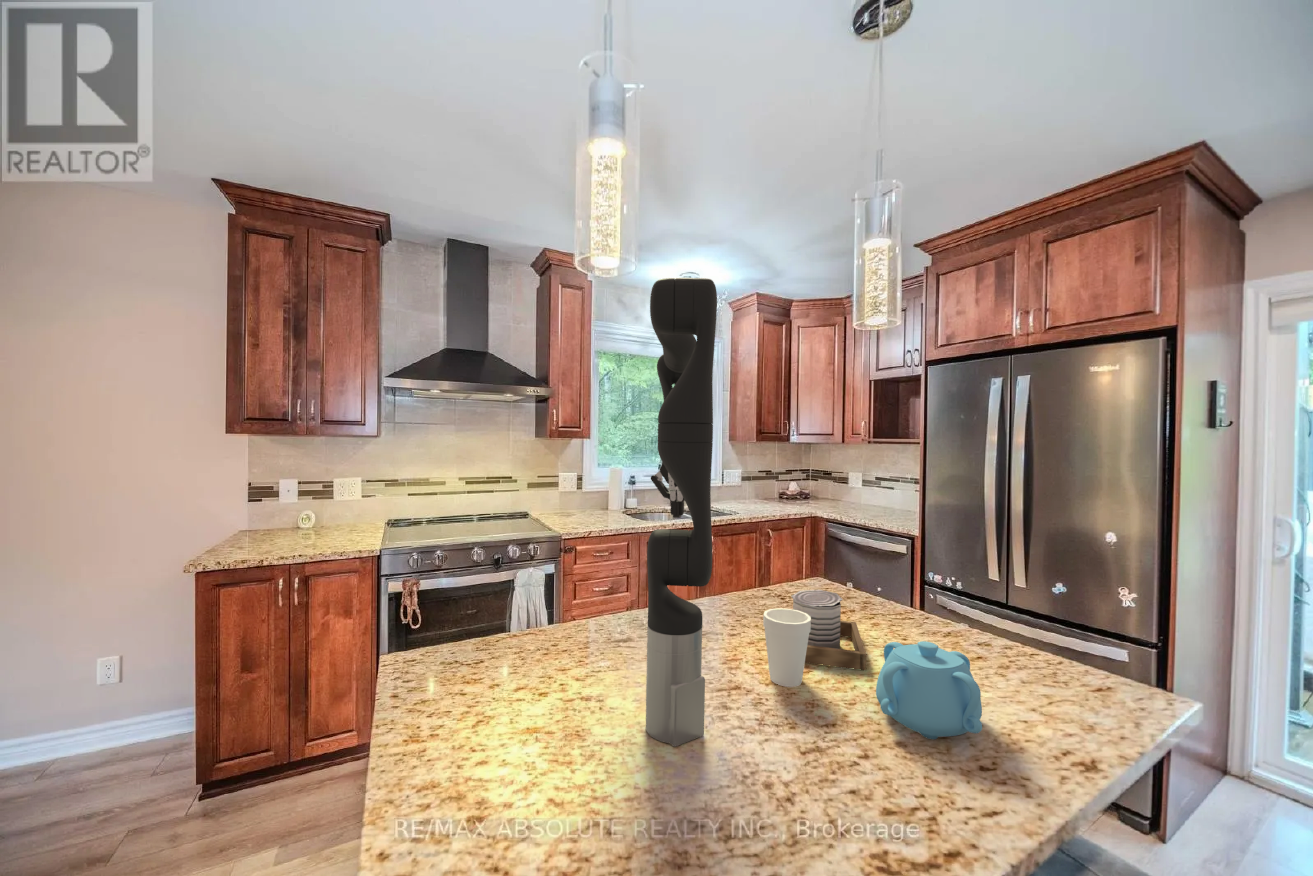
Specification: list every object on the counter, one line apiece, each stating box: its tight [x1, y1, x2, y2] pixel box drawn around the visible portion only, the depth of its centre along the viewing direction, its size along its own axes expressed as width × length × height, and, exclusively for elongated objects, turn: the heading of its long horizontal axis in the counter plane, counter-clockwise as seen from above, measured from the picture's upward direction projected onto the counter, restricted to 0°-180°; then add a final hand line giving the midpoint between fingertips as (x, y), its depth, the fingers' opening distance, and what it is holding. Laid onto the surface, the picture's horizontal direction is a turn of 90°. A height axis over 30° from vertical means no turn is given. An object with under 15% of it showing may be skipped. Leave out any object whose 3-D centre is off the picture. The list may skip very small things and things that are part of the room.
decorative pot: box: [875, 640, 983, 740], centre depth 89 cm, size 16×16×14 cm
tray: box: [805, 620, 867, 671], centre depth 121 cm, size 20×20×4 cm
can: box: [790, 589, 844, 649], centre depth 122 cm, size 11×11×12 cm
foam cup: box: [762, 607, 811, 688], centre depth 104 cm, size 10×9×13 cm
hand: (677, 517), depth 116 cm, fingers closed
